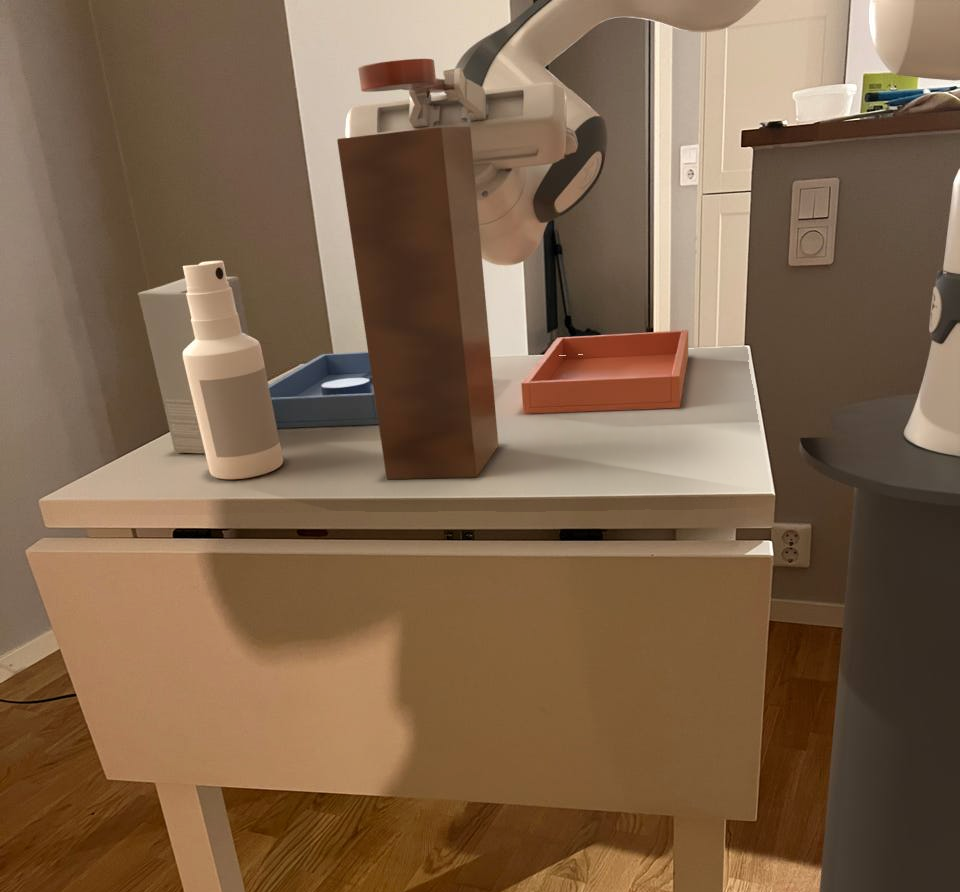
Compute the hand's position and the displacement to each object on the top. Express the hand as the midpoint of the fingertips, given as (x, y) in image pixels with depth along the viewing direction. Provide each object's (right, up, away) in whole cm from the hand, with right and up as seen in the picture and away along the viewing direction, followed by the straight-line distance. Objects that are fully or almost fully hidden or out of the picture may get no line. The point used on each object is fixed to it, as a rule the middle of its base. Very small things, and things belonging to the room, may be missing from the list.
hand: (433, 79), depth 79 cm
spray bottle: (-18, -31, +10) cm, 37 cm away
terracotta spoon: (-1, -3, -3) cm, 4 cm away
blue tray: (-11, -19, +31) cm, 38 cm away
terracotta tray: (+19, -18, +26) cm, 37 cm away
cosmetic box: (-23, -27, +19) cm, 40 cm away
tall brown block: (+1, -31, +5) cm, 31 cm away
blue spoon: (-10, -16, +36) cm, 40 cm away
